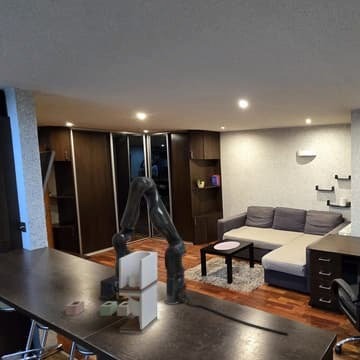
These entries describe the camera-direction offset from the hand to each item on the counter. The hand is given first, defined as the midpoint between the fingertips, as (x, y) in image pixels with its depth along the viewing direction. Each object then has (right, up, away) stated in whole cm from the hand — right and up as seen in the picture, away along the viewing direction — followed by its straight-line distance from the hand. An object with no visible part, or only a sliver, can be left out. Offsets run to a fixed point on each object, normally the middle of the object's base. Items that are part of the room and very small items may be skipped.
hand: (124, 295), depth 153 cm
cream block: (+9, -4, -12) cm, 15 cm away
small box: (-12, -3, +7) cm, 14 cm away
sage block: (0, -4, -12) cm, 13 cm away
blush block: (-17, -4, -12) cm, 21 cm away
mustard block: (0, -1, 0) cm, 1 cm away
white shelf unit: (+23, -6, -22) cm, 32 cm away
